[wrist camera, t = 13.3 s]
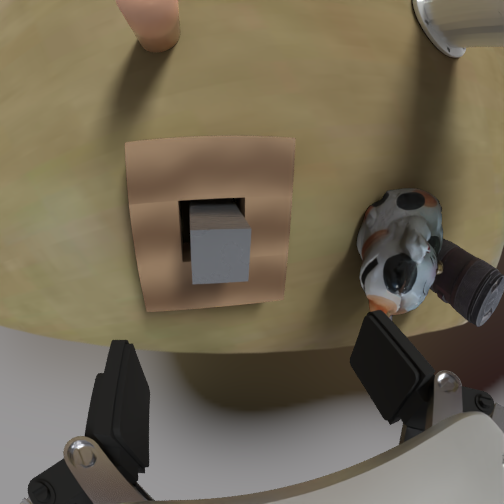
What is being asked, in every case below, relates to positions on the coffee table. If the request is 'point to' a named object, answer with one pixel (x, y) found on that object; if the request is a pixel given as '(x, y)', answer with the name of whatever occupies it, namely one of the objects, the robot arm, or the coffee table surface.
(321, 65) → the coffee table surface
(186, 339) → the coffee table surface
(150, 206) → the bore block
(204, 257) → the square bit
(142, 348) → the coffee table surface
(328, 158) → the coffee table surface
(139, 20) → the round bit
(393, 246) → the lucky cat figurine
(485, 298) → the camera lens
